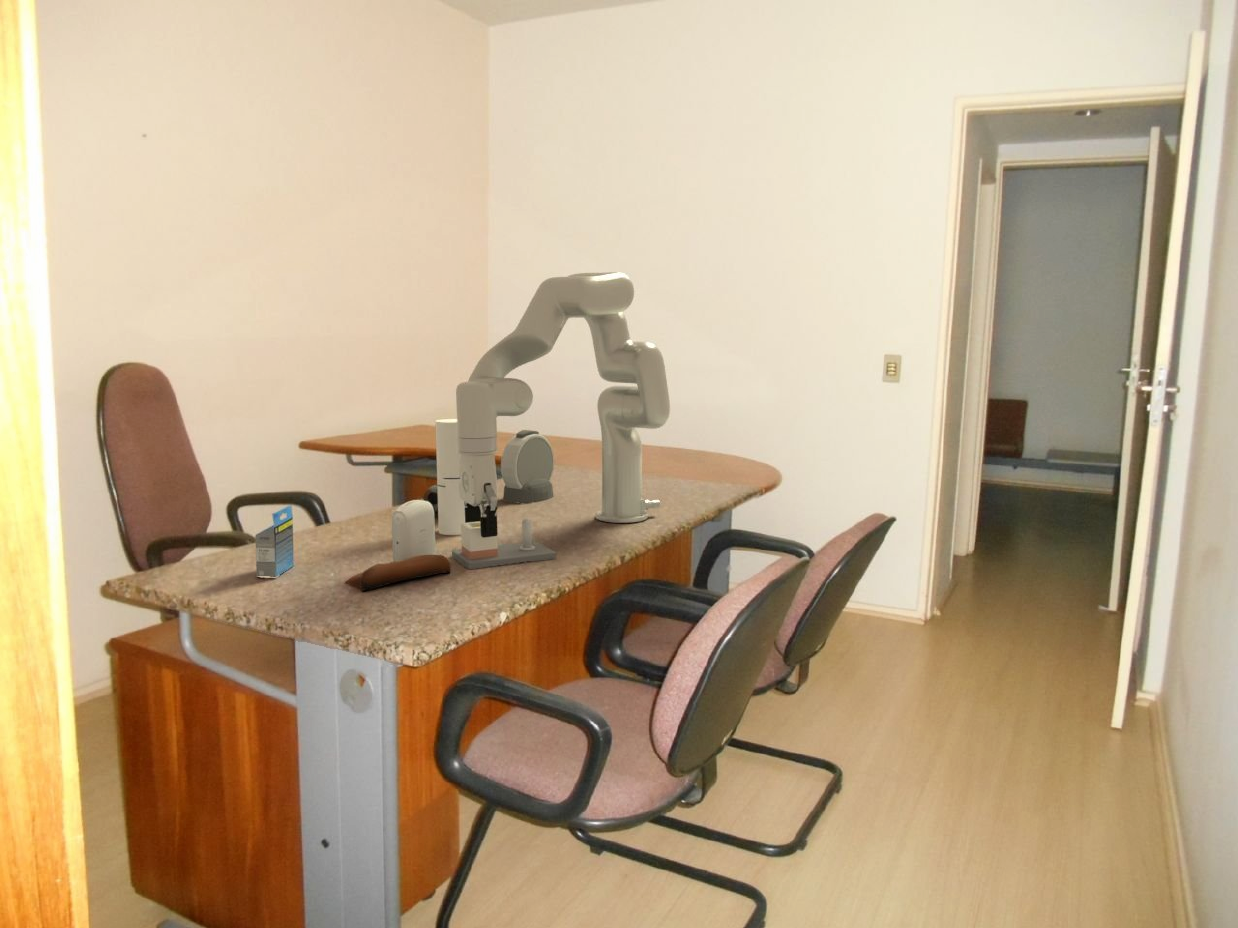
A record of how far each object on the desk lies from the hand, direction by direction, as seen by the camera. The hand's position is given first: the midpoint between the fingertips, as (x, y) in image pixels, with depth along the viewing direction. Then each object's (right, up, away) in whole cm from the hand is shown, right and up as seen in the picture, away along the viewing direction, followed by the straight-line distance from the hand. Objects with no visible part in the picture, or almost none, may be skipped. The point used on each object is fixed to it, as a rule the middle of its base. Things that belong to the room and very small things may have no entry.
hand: (481, 531), depth 182 cm
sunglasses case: (-14, -9, -12) cm, 20 cm away
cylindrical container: (-10, -2, +25) cm, 27 cm away
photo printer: (-13, -6, -2) cm, 14 cm away
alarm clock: (+3, +4, +64) cm, 64 cm away
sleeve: (0, -5, 0) cm, 5 cm away
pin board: (+4, -5, +3) cm, 7 cm away
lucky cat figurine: (-12, +1, +44) cm, 46 cm away
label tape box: (-37, -7, -9) cm, 39 cm away
